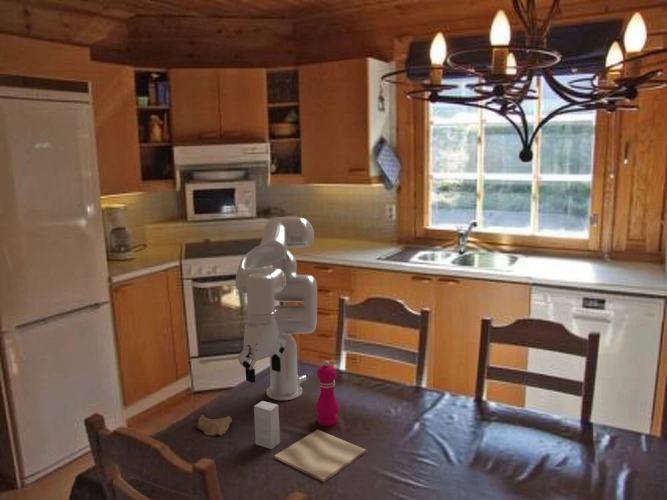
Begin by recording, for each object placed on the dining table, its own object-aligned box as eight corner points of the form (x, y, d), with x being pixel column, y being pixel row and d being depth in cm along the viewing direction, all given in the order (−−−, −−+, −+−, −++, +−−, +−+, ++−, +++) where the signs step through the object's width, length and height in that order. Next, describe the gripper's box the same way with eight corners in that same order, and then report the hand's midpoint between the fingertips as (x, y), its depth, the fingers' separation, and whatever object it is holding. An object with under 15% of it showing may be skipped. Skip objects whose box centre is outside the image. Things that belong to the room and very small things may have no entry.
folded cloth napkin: (317, 432, 165) (317, 429, 165) (365, 452, 154) (365, 449, 154) (274, 458, 152) (274, 455, 152) (323, 482, 140) (323, 479, 140)
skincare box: (280, 443, 159) (279, 404, 157) (271, 450, 156) (270, 410, 154) (263, 437, 162) (262, 400, 160) (254, 444, 159) (253, 406, 157)
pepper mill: (342, 424, 170) (341, 363, 166) (320, 428, 167) (319, 366, 164) (334, 413, 176) (333, 355, 173) (312, 418, 174) (311, 358, 170)
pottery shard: (233, 424, 174) (203, 416, 175) (235, 412, 173) (205, 404, 174) (222, 444, 164) (190, 435, 164) (225, 431, 163) (193, 422, 163)
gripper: (274, 308, 161) (276, 364, 164) (228, 322, 148) (231, 382, 151) (293, 313, 157) (294, 370, 159) (246, 327, 144) (249, 389, 146)
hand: (263, 375), depth 155 cm, fingers open, 9 cm apart
